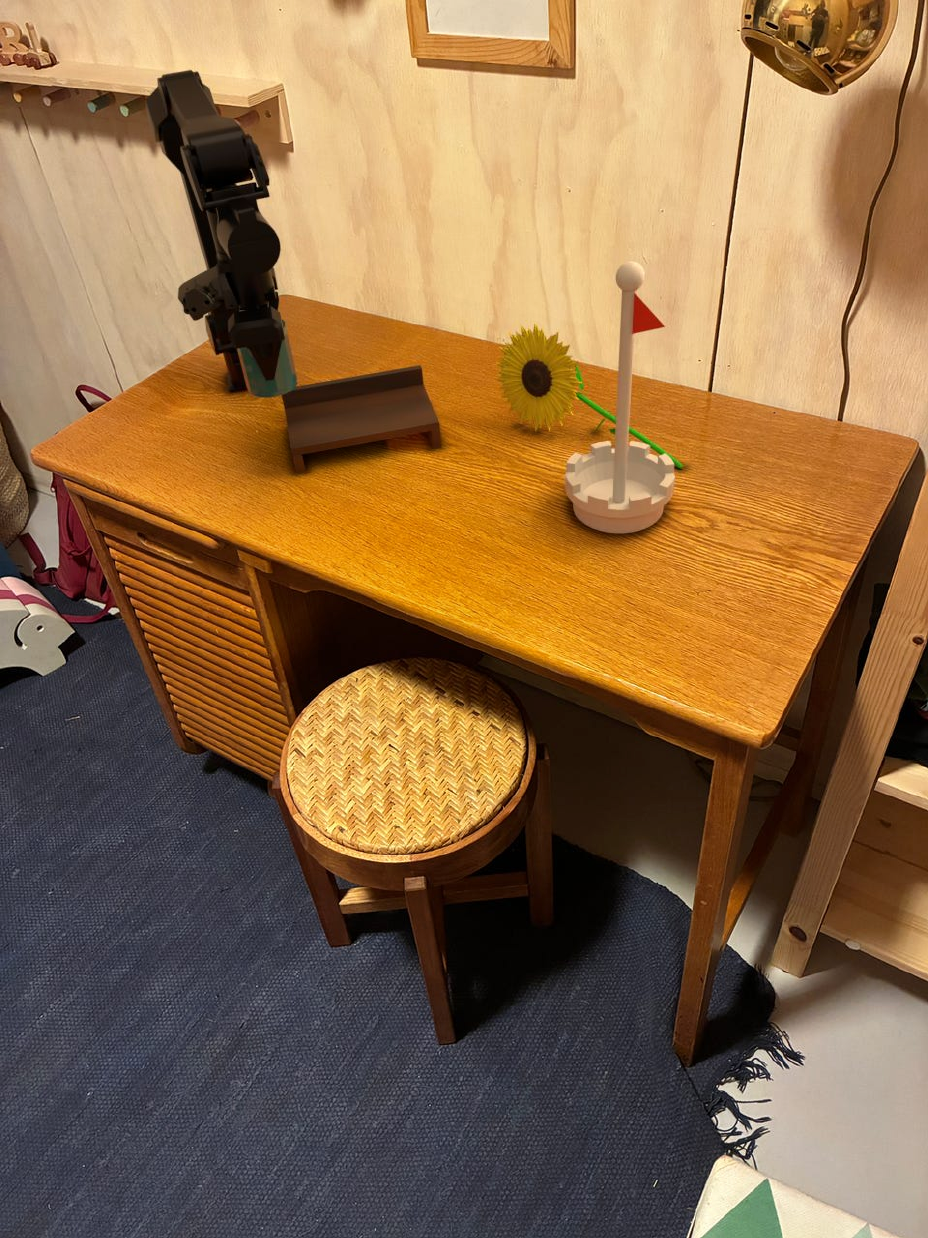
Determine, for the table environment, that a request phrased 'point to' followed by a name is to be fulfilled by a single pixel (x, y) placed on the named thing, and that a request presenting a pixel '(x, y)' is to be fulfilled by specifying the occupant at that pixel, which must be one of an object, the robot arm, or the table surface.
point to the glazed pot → (283, 376)
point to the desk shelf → (358, 411)
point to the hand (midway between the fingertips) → (268, 367)
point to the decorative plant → (546, 382)
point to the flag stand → (622, 442)
